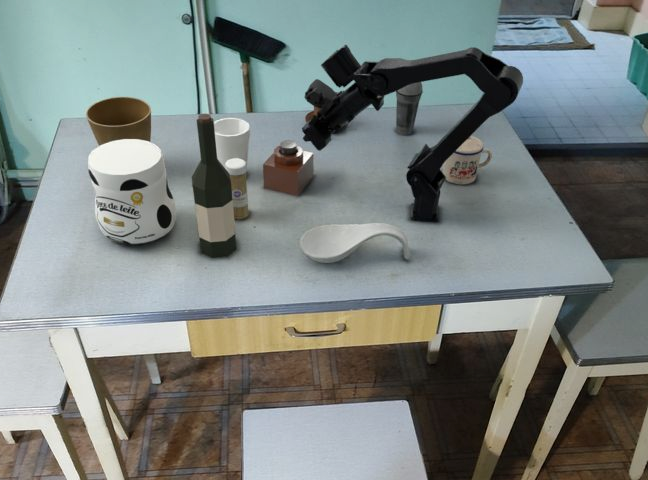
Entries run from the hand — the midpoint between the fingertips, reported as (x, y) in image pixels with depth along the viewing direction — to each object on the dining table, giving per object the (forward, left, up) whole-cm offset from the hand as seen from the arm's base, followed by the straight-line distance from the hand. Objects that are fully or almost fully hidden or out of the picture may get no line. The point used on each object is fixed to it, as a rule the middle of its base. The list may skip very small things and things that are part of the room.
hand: (304, 139), depth 157 cm
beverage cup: (+33, -24, -13) cm, 43 cm away
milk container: (-24, +34, -13) cm, 44 cm away
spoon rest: (-26, -15, -13) cm, 33 cm away
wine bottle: (-28, +15, -13) cm, 34 cm away
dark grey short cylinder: (+1, +4, -4) cm, 6 cm away
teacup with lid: (+11, -40, -12) cm, 43 cm away
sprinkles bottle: (-15, +13, -13) cm, 24 cm away
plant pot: (0, +44, -13) cm, 46 cm away
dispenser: (+1, +4, -12) cm, 13 cm away
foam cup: (+2, +18, -13) cm, 22 cm away
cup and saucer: (+33, -2, -12) cm, 35 cm away
